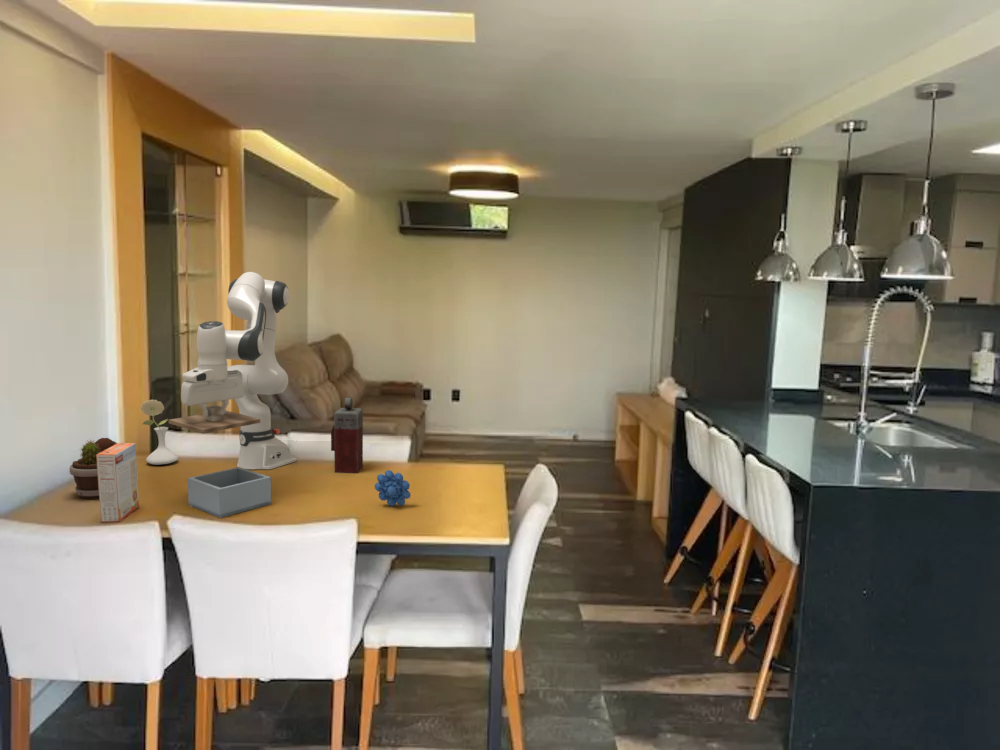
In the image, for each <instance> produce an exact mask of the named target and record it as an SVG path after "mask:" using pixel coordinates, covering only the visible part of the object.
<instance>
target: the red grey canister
mask: <svg viewBox="0 0 1000 750" xmlns="http://www.w3.org/2000/svg"><path fill="white" fill-rule="evenodd" d="M353 402H354V401H353V397H345V398H344V407H340V408H339V409H337V410H336V411H334V415H333V416H334V417H333V419H334V420H333V421H334V422H333V423H334V424H333V426H332V428H331V431H330V446H331V447H330V451H331V452H334V454H333V455H334V457H333V458H334V473H335V474H336V473H337V474H339V473H341V474H359V473H360V471H361V470H362V469H363V467H364V457H363V455H364V454H363V453H364V451H363V450H364V448H363V447H364V444H363V443H364V441H363V440H364V438H363V437H364V431H363V430H364V429H363V428H364V427H363V425H364V424H363V423H364V420H363V419H364V413H363V412H364V411H363V409H362V408H360V407H359V408H357V407H353V404H354V403H353Z"/></svg>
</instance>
